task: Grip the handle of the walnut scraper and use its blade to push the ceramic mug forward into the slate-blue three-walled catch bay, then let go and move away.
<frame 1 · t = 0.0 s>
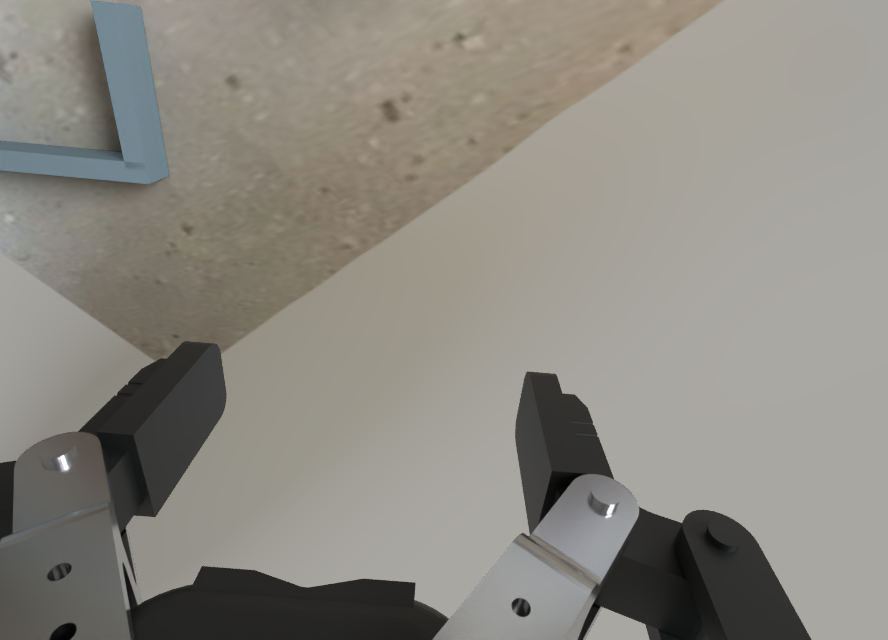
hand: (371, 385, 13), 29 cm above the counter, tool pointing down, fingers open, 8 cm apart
catch bay: (15, 42, 36), on the counter
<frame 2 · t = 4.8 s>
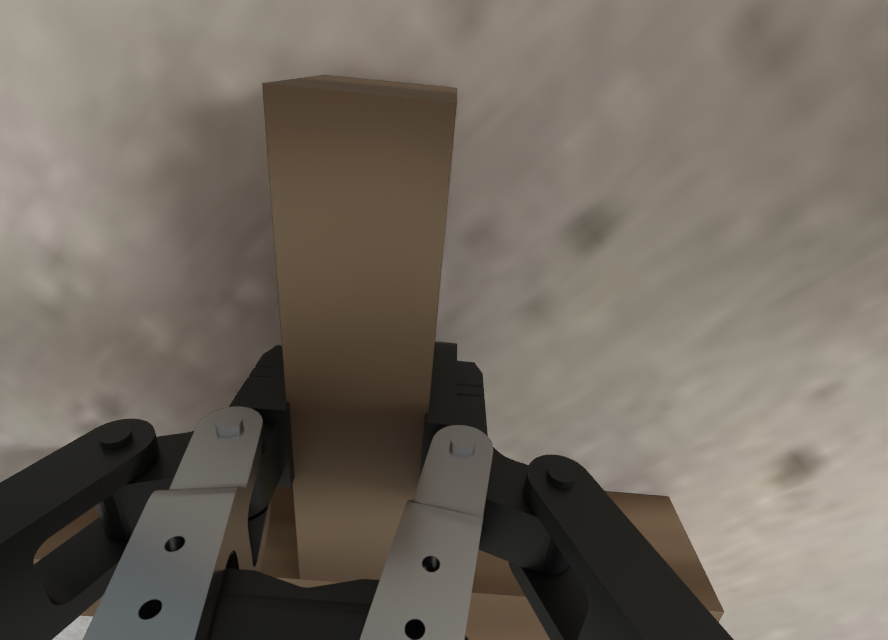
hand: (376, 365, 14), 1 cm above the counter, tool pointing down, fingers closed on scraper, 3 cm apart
scraper: (376, 498, 17), on the counter, touching gripper
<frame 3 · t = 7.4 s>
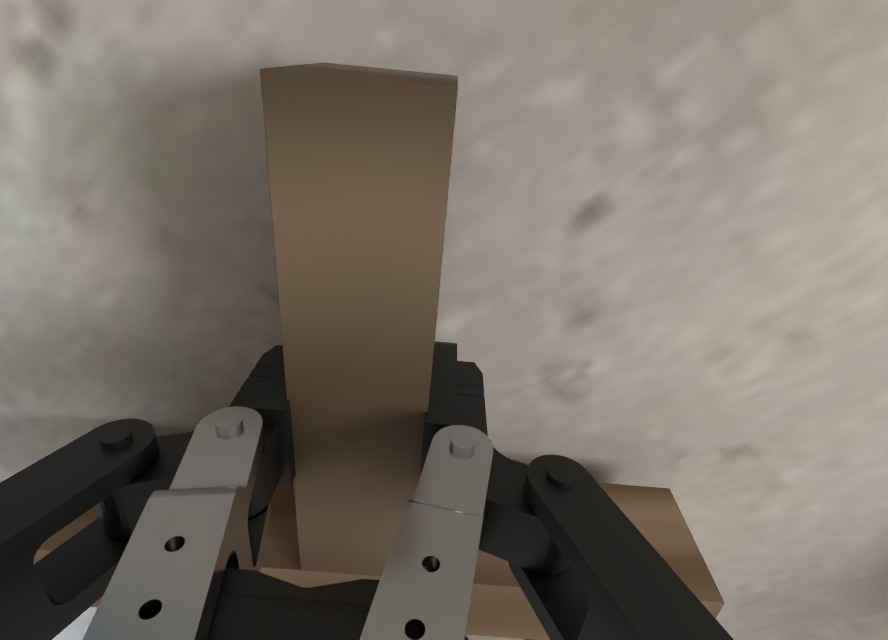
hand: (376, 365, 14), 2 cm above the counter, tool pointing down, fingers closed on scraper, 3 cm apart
scraper: (377, 490, 17), point 1 cm above the counter, touching ceramic mug, gripper
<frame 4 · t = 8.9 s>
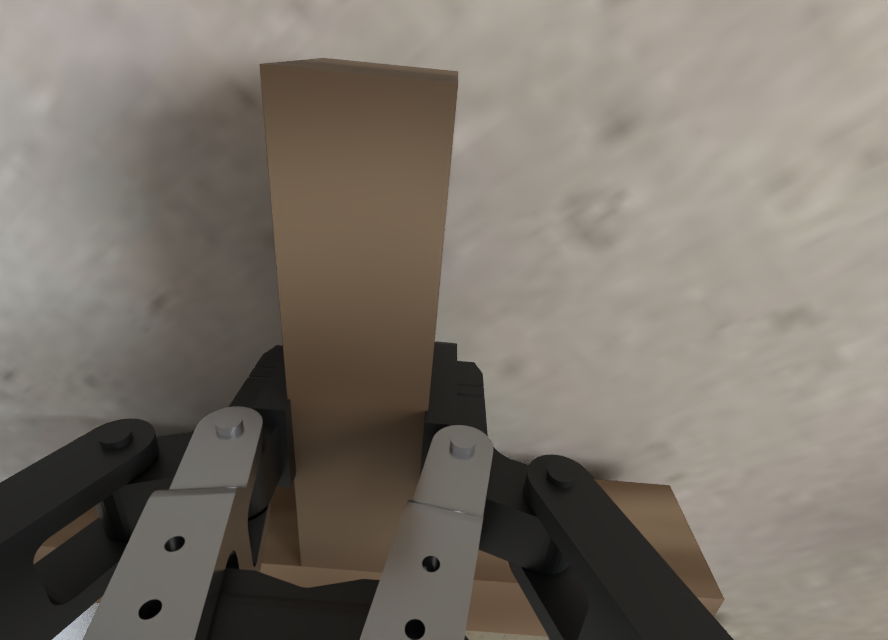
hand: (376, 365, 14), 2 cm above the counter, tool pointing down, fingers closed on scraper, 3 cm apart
scraper: (377, 486, 17), point 1 cm above the counter, touching gripper
ceramic mug: (401, 565, 22), on the counter
when the fingers open (2 cm above the counter, at t = 9.7 s): scraper drops 1 cm, on the counter.
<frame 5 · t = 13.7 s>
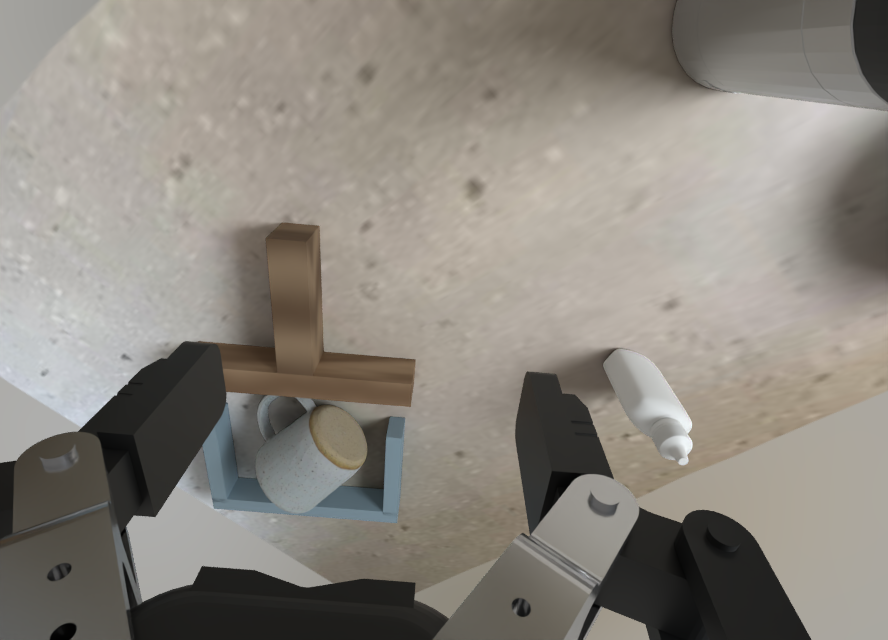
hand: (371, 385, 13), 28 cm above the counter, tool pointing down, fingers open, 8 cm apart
scraper: (308, 361, 46), on the counter
ceramic mug: (312, 421, 50), on the counter
eye dropper bottle: (630, 366, 46), on the counter
catch bay: (310, 433, 50), on the counter
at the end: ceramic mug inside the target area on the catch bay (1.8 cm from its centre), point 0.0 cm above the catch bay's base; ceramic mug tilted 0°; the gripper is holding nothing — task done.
